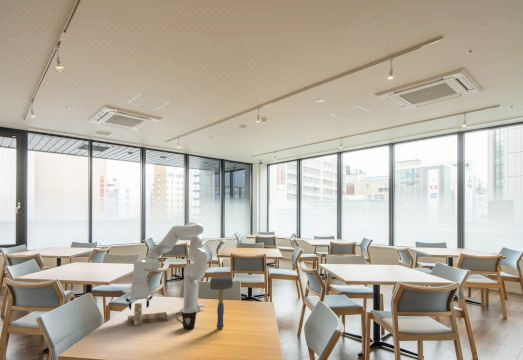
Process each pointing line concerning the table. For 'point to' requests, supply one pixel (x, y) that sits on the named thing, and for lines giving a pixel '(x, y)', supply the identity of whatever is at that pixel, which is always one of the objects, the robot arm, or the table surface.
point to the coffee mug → (188, 318)
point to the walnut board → (149, 318)
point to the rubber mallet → (220, 294)
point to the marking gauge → (138, 314)
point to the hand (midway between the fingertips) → (138, 308)
